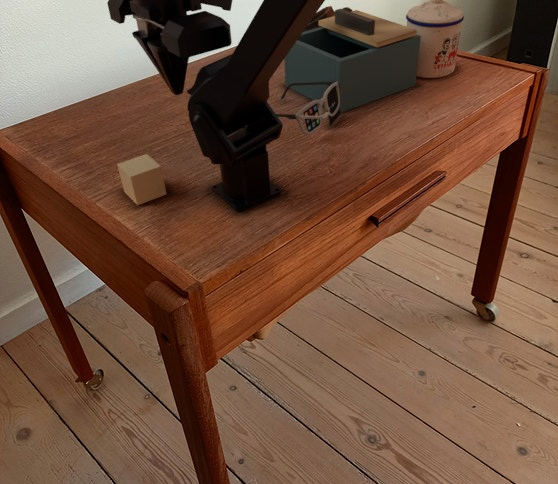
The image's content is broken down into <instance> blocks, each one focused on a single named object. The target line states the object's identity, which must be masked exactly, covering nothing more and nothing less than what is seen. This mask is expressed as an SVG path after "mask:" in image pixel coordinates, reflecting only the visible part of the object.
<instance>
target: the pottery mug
mask: <svg viewBox="0 0 558 484" xmlns="http://www.w3.org/2000/svg"><path fill="white" fill-rule="evenodd" d="M342 9H343V10H346V11H349V12H351V11H354V10H353V9H352V8H350V7H347V6H345V7H342ZM333 16H335V10H334V9H333V6H332V5H329V6H325V7H322V9H319V10H318V11H317V12H316V14H315V15H314V17H313V18H312V20H311V21H310V22H309V24H308V25H307V27H306V28H305V30H304V31H303V32H305V31H309V30H312V29H316V28H319V27H321V26H319V20H322V19H326V18H329V17H333Z"/></svg>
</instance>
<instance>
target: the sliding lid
mask: <svg viewBox="0 0 558 484" xmlns="http://www.w3.org/2000/svg"><path fill="white" fill-rule="evenodd" d="M334 11H335V16H333V17H329V18H326V19H322V20H319V26H321V27H324V28H327V29H329V30H332V31H335V32H337V33H340V34H343V35H345V36H348V37H351V38H353V39H356V40H359V41H361V42H364V43H367V44H369V45H372V46H374V47H381V46H384V45H387V44H390V43H393V42H396V41H399V40H403V39H406V38H409V37H412V36H415V35H416V34H417V30H416V29H413V28H410V27H407V25H403V24H401V23H397V22H395V21H391V20H388V19H385V18H382V17H379V16H375V15H373V14H370V13H367V12H363V11H360V10H358V9H355V10H353V11H351V12H349V11H346V10H343V8H337V9H335V10H334Z"/></svg>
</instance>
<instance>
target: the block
mask: <svg viewBox="0 0 558 484" xmlns="http://www.w3.org/2000/svg"><path fill="white" fill-rule="evenodd" d="M117 169H118V173H119V177H120V181H121V184H122V188H123V192H124V193H125V194H126V196H127V197H128V198H130V199H131V200H132V201H133V203H134V204H136V206H140V205H143V204H145V203H147V202H150V201H153V200H155V199H159V198H161V197H164V196H166V195H167V191H166V184H165V180H164V175H163V170H162V166H161V165H160V164H159V163H158V162H157V161H156V160H154V159H153V158H152V157H151V156H150V155H149V154H148V153H145V154H143V155H140V156H137V157H134V158H131V159H127V160H125V161H122V162H119V163H117Z"/></svg>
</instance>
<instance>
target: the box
mask: <svg viewBox="0 0 558 484" xmlns="http://www.w3.org/2000/svg"><path fill="white" fill-rule="evenodd" d="M420 38H421V36H420V35H417V34H416V35H415V36H412V37H409V38H406V39H403V40H399V41H396V42H393V43H390V44H387V45H384V46H381V47H374V46H372V45H369V44H367V43H364V42H361V41H359V40H356V39H353V38H351V37H348V36H345V35H343V34H340V33H337V32H335V31H332V30H329V29H327V28H324V27H319V28H316V29H312V30H309V31H305V32H303V33H302V34H301V35H300V37H299V38H298V40H297V41H296V43H295V44H294V45H293V47H292V48H291V50H290V51H289V53H288V54H287V55H286V57H285V58H284V60H283V62H284V63H283V64H284V84H285V87H287V86H288V85H289V84H291V83H305V82H331V81H336V82H337V81H338V85H339V95H340V106H339V107H340V112H341V114H342V113H344V112H347V111H349V110H353V109H355V108H357V107H361V106H364V105H367V104H369V103H371V102H372V103H373V102H375V101H377V100H379V99H382V98H385V97H388V96H391V95H393V94H396V93H399V92H402V91H405V90H407V89H410V88H412V87H415V86H416V83H417V76H416V75H417V66H418V57H419V48H420ZM329 87H330V86H329V85H325V84H322V85H294V86H291V87H290V88H289V90H290V89H291V90H292V91H294V92H296V93H298V94H300V95H301V96H304V97H306V98H308V99H310V100H312V101H314V100H321V99H322V98H323V96H324V93H325V91H326V90H327V89H328V88H329ZM323 106H324V107H325V105H324V103H323V105H322V107H323Z"/></svg>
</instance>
